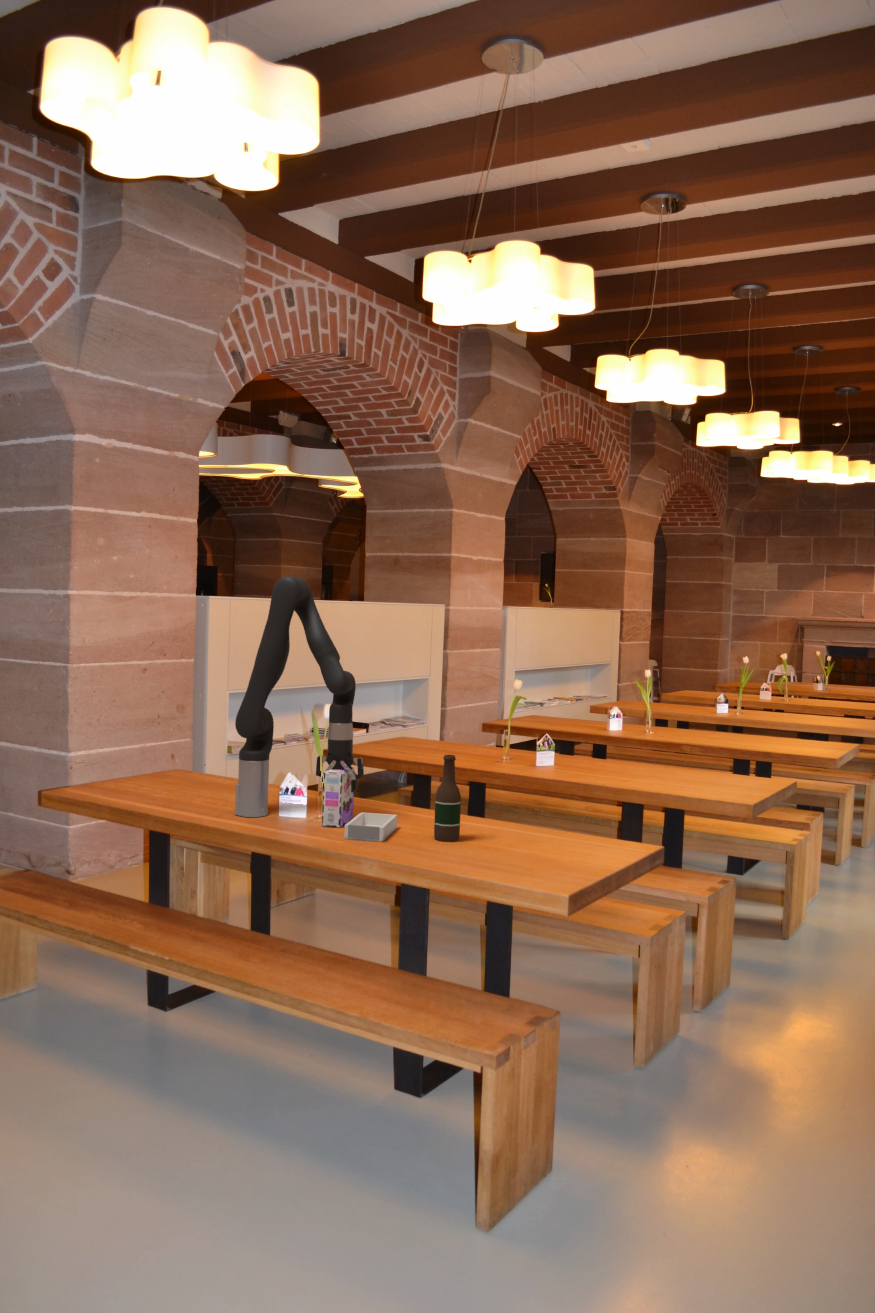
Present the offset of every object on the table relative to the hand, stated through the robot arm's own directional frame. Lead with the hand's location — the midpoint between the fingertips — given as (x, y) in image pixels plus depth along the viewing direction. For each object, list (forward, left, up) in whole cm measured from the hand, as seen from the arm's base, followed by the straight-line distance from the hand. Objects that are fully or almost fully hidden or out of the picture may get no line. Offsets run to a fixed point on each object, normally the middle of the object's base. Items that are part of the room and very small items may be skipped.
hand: (339, 791), depth 298 cm
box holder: (+13, -11, -10) cm, 19 cm away
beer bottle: (+35, -11, -10) cm, 38 cm away
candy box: (0, 0, -10) cm, 10 cm away
